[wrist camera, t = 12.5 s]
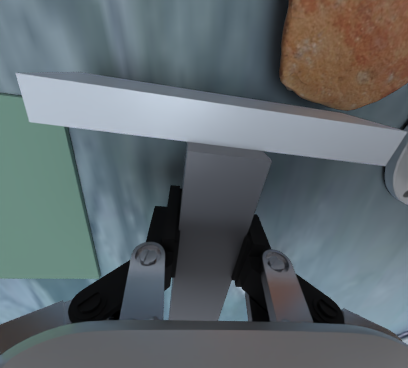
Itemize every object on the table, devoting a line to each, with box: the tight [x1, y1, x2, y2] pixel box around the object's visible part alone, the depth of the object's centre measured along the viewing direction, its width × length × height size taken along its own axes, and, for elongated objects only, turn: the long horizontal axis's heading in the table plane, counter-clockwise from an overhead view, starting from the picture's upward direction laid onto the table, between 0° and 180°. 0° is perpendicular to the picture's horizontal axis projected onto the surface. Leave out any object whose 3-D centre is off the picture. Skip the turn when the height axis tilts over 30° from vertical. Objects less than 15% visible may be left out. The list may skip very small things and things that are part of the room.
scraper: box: [16, 72, 407, 321], centre depth 12 cm, size 14×14×5 cm
